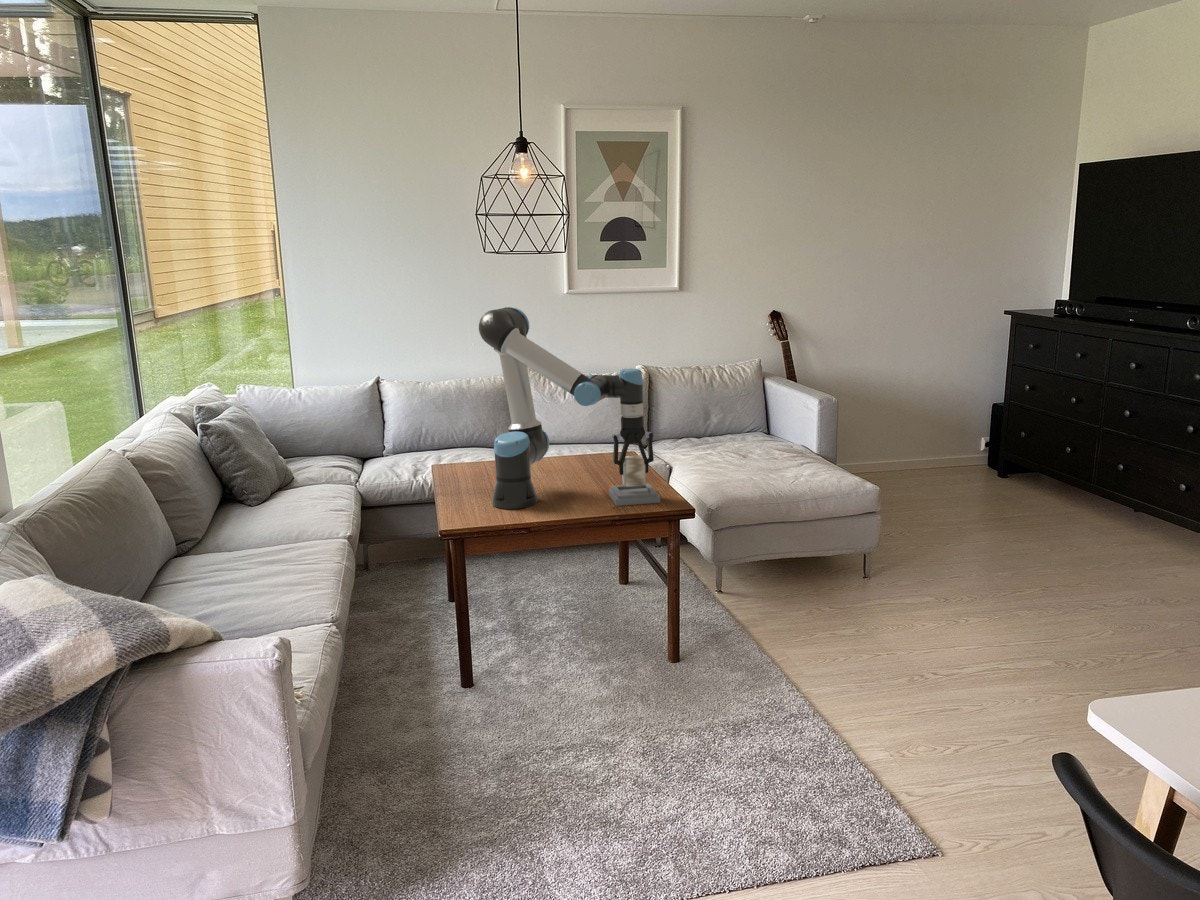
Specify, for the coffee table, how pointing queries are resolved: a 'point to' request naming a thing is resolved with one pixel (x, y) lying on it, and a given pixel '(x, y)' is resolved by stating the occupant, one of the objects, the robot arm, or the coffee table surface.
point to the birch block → (634, 470)
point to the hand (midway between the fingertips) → (634, 483)
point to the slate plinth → (634, 495)
